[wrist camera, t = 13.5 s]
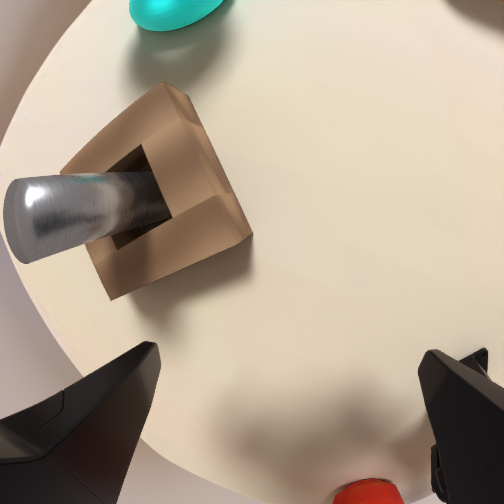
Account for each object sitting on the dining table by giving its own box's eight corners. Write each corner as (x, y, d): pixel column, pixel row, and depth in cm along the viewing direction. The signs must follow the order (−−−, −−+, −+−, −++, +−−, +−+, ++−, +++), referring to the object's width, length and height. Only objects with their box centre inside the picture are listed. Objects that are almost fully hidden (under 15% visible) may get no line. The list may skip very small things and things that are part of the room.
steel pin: (179, 220, 22) (44, 267, 9) (139, 220, 22) (9, 260, 10) (177, 170, 21) (35, 172, 8) (137, 174, 22) (1, 184, 9)
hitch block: (252, 232, 20) (237, 244, 17) (137, 284, 24) (110, 300, 20) (188, 95, 19) (162, 81, 15) (90, 170, 23) (59, 171, 19)
